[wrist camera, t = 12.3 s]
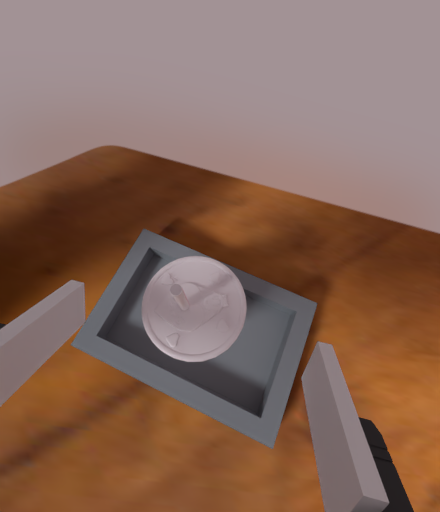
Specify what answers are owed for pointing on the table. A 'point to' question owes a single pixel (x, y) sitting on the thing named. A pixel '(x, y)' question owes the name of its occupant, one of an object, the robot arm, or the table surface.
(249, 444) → the table surface
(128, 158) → the table surface
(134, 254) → the tray
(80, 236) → the table surface
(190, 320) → the smoothie
